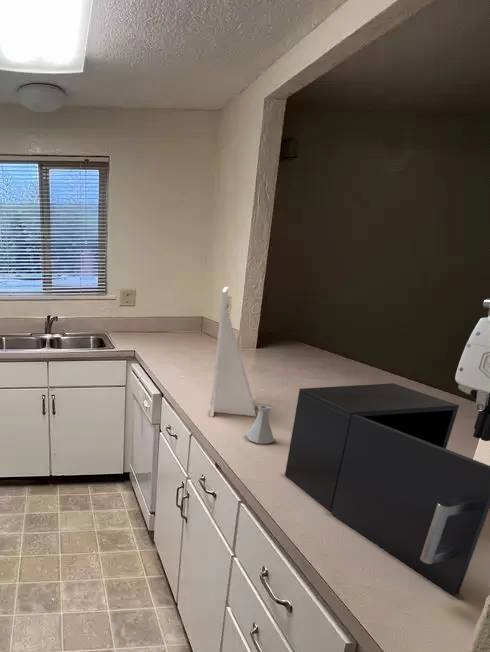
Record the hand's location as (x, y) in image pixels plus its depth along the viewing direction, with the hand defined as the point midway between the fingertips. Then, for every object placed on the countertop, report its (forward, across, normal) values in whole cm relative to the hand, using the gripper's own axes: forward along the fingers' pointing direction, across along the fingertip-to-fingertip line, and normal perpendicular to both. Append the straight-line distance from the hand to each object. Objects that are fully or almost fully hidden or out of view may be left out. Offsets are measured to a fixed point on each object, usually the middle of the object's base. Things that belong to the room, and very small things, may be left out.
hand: (486, 437), depth 63 cm
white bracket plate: (+25, -82, +13) cm, 87 cm away
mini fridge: (+25, -28, +9) cm, 38 cm away
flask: (+25, -57, +5) cm, 63 cm away
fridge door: (+25, -8, -6) cm, 26 cm away
